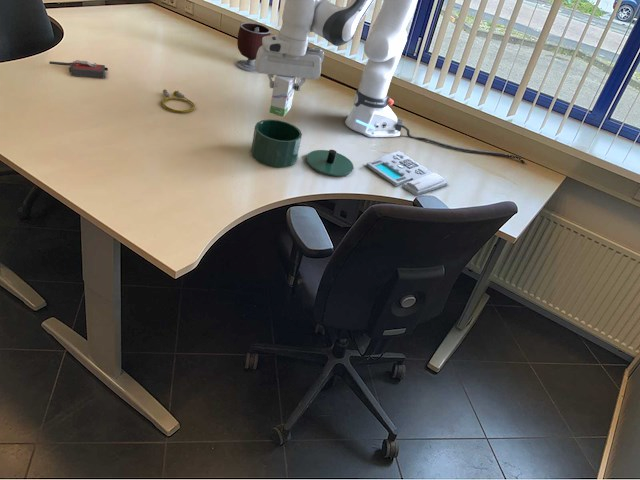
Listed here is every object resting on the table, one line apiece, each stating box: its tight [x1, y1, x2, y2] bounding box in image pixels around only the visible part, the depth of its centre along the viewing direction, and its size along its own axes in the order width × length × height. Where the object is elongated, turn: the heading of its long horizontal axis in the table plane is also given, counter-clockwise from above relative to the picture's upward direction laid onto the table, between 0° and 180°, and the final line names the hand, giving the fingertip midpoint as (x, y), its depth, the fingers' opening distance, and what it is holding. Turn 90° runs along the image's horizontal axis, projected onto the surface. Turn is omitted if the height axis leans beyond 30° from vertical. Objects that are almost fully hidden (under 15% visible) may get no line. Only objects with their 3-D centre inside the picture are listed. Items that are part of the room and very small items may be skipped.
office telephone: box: [366, 150, 449, 196], centre depth 192 cm, size 23×3×20 cm
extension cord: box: [160, 89, 196, 114], centre depth 198 cm, size 12×16×2 cm
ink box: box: [269, 75, 298, 118], centre depth 171 cm, size 8×5×12 cm, turn 166°
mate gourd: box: [235, 22, 271, 73], centre depth 237 cm, size 16×14×20 cm
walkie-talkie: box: [48, 59, 109, 79], centre depth 201 cm, size 9×4×20 cm
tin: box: [250, 118, 303, 169], centre depth 180 cm, size 15×15×10 cm
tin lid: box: [306, 149, 354, 177], centre depth 185 cm, size 16×16×5 cm
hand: (284, 88), depth 170 cm, fingers closed on ink box, 6 cm apart
